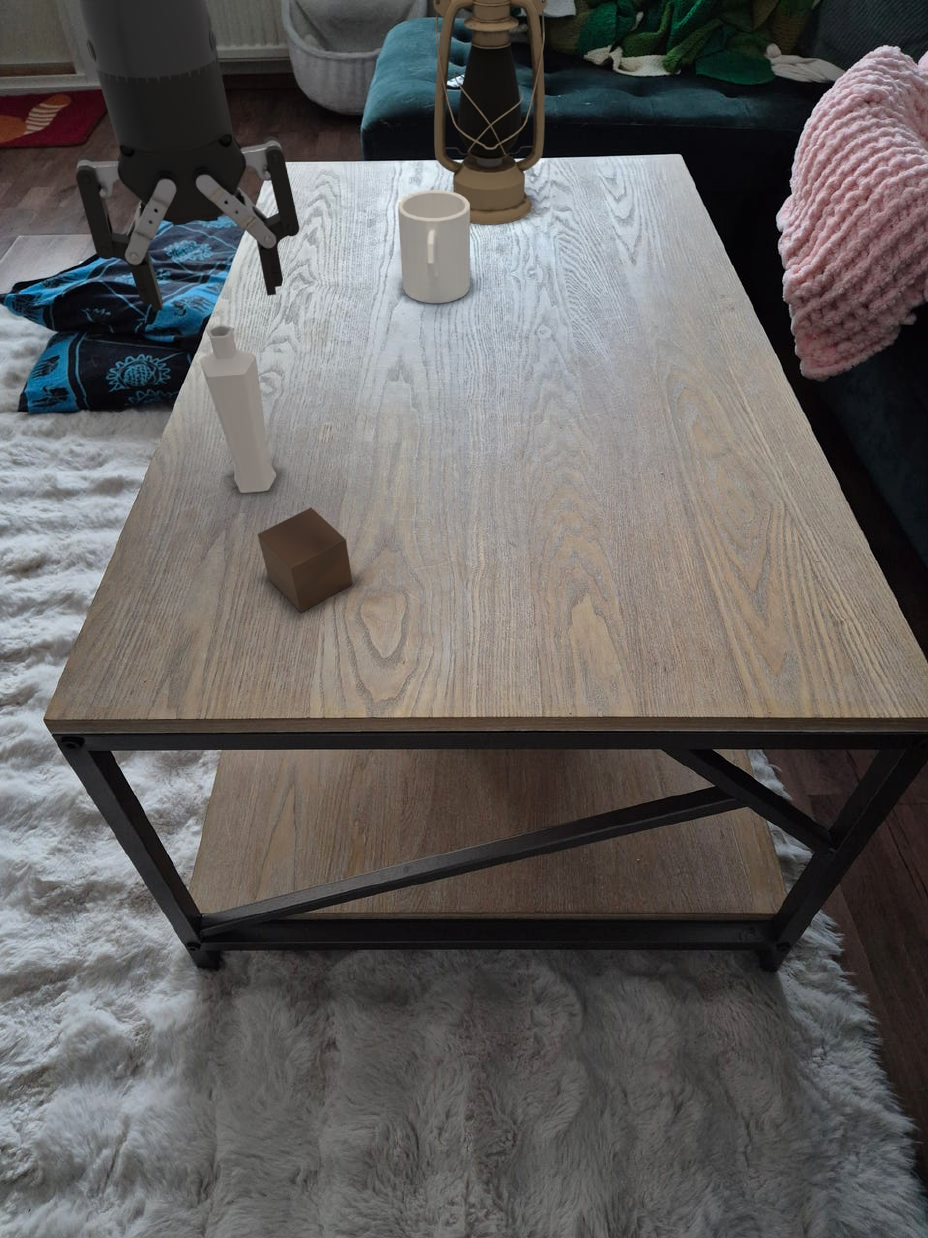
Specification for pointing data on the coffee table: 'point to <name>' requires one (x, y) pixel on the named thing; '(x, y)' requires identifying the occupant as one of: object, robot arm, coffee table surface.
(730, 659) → the coffee table surface
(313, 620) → the coffee table surface
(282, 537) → the walnut block
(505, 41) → the lantern
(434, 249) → the mug
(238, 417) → the perfume bottle
